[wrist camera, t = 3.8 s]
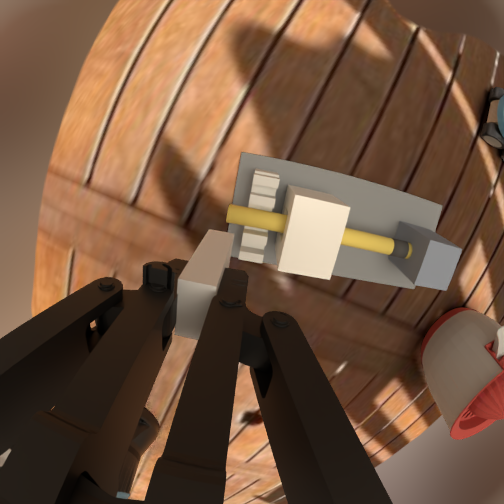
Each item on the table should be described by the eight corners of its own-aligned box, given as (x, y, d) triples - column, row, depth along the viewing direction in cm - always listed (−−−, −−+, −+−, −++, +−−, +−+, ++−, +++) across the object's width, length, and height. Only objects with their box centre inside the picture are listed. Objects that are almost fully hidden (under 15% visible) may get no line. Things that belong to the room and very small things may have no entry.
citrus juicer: (491, 279, 34) (566, 344, 15) (466, 359, 40) (513, 429, 21) (422, 292, 35) (499, 385, 16) (400, 378, 41) (440, 468, 22)
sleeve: (274, 245, 32) (277, 270, 26) (287, 184, 30) (295, 194, 23) (316, 253, 32) (329, 279, 26) (331, 194, 30) (350, 207, 23)
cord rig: (224, 253, 34) (213, 283, 26) (242, 152, 30) (235, 152, 22) (412, 287, 35) (439, 317, 27) (440, 204, 31) (477, 221, 23)
